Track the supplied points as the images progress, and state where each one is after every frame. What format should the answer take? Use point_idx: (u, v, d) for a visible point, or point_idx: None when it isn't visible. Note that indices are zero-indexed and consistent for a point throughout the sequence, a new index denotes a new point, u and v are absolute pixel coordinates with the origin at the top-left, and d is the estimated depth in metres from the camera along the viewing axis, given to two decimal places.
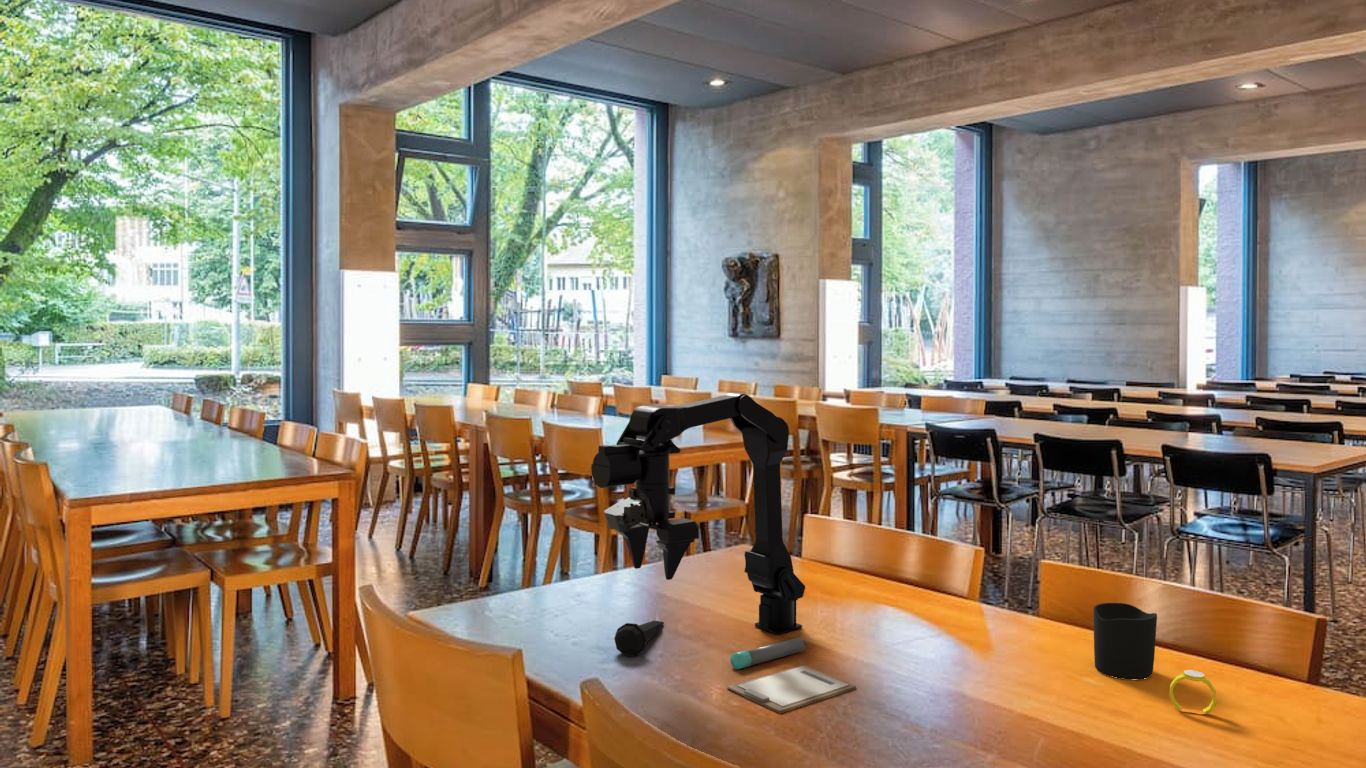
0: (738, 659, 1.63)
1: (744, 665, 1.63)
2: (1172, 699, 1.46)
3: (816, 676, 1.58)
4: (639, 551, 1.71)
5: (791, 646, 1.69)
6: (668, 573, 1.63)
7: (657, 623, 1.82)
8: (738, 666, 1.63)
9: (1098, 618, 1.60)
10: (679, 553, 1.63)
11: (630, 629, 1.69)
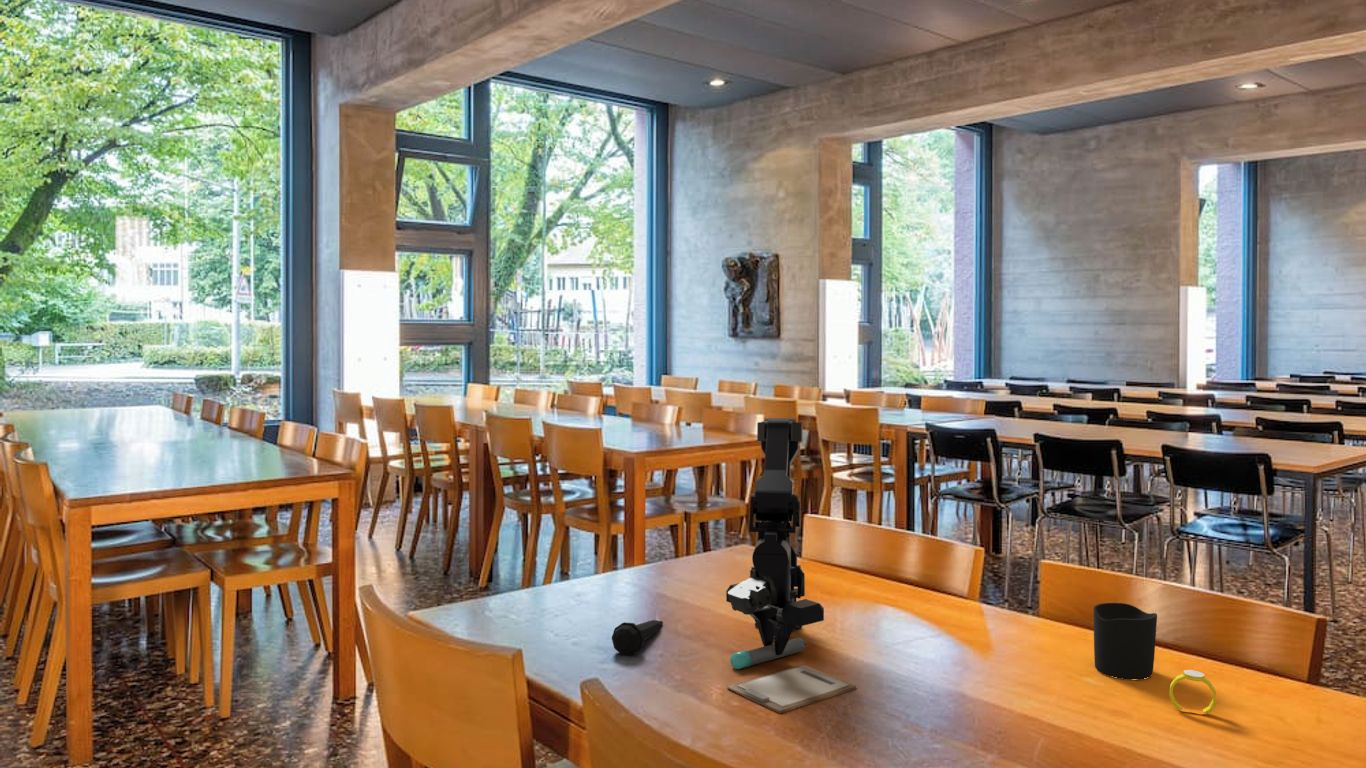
0: (738, 659, 1.63)
1: (744, 665, 1.63)
2: (1172, 699, 1.46)
3: (816, 676, 1.58)
4: (770, 633, 1.70)
5: (791, 646, 1.69)
6: (778, 649, 1.67)
7: (656, 622, 1.82)
8: (738, 666, 1.63)
9: (1098, 618, 1.60)
10: (789, 629, 1.67)
11: (627, 628, 1.70)
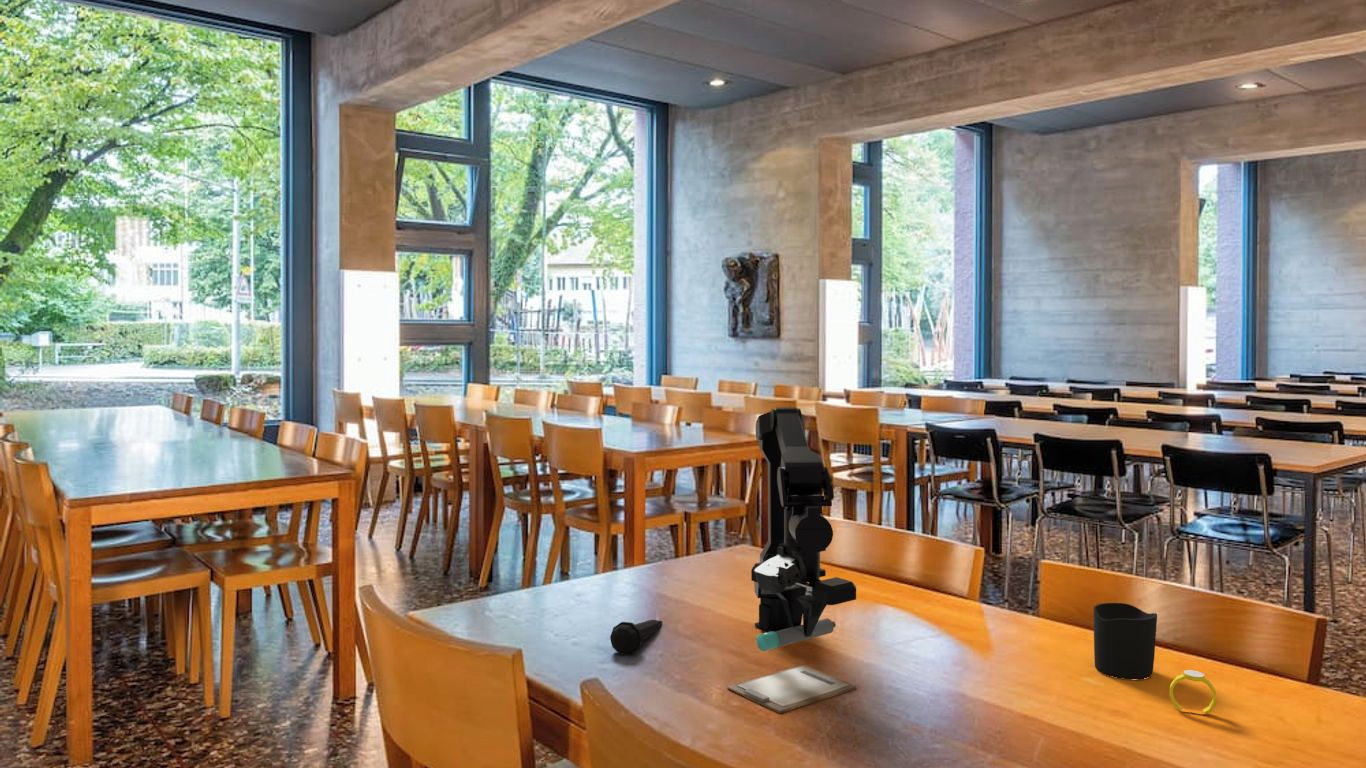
0: (765, 640, 1.54)
1: (771, 646, 1.54)
2: (1172, 699, 1.46)
3: (816, 676, 1.58)
4: (797, 614, 1.61)
5: (819, 627, 1.61)
6: (807, 630, 1.58)
7: (655, 622, 1.83)
8: (765, 647, 1.54)
9: (1098, 618, 1.60)
10: (818, 609, 1.58)
11: (625, 628, 1.70)
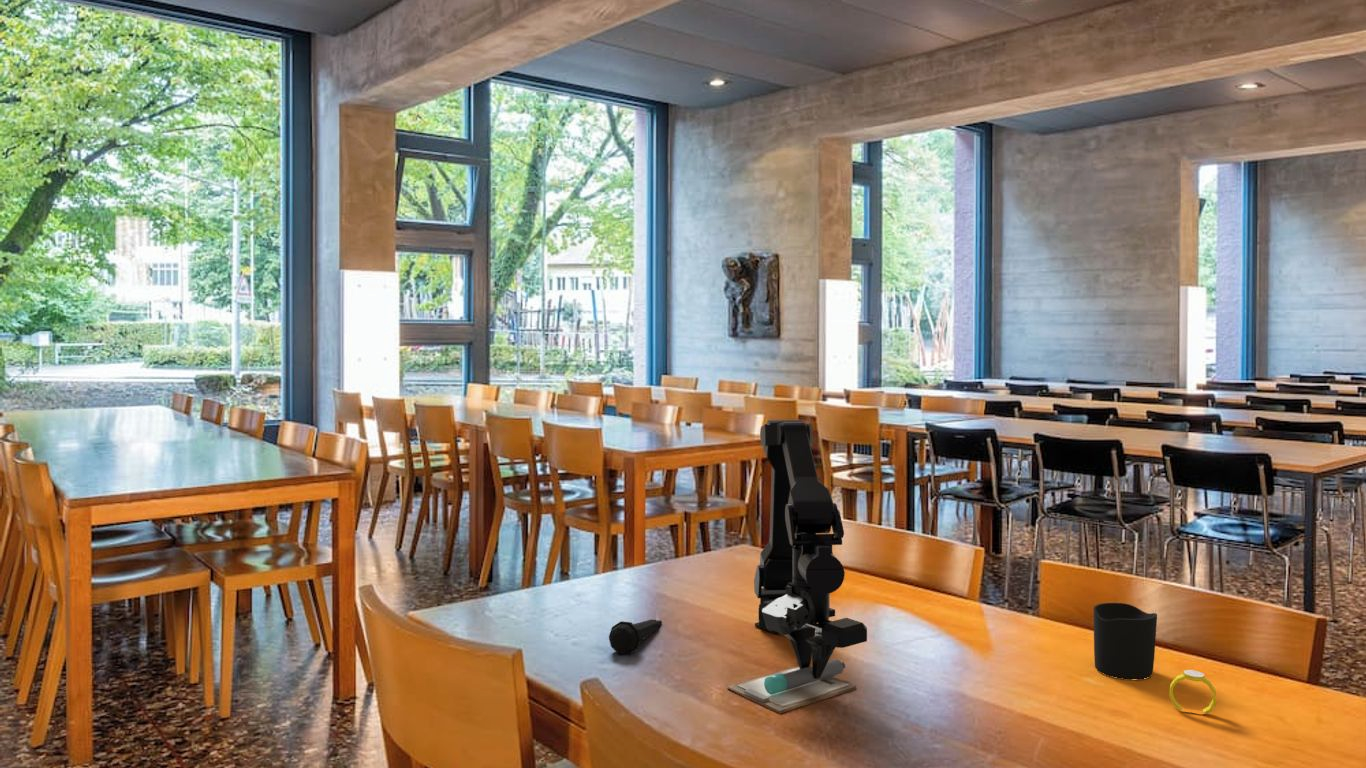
0: (773, 684, 1.49)
1: (780, 690, 1.50)
2: (1172, 699, 1.46)
3: None
4: (806, 654, 1.56)
5: (829, 669, 1.56)
6: (817, 672, 1.53)
7: (654, 622, 1.83)
8: (773, 691, 1.50)
9: (1098, 618, 1.60)
10: (828, 651, 1.53)
11: (624, 627, 1.70)
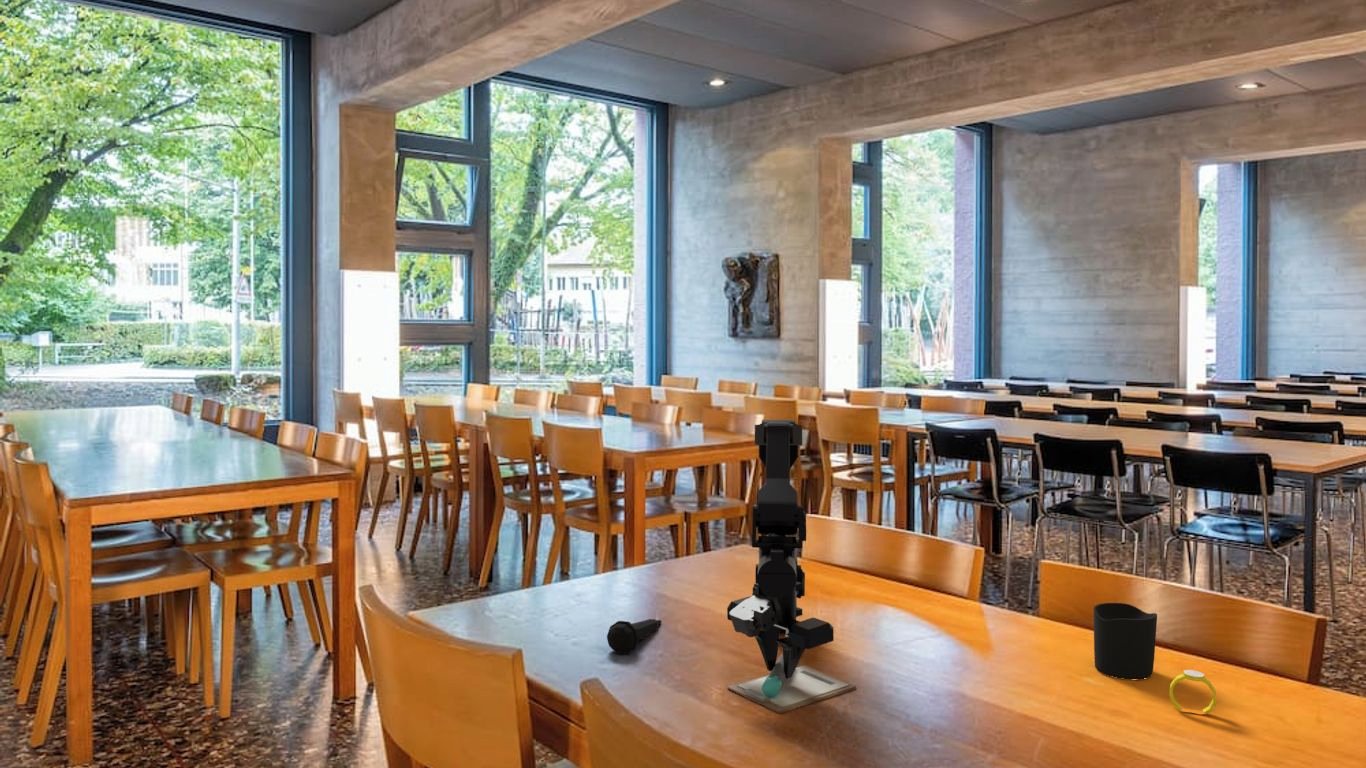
0: (773, 684, 1.49)
1: (780, 688, 1.50)
2: (1172, 699, 1.46)
3: (816, 676, 1.58)
4: (772, 652, 1.58)
5: None
6: (788, 672, 1.54)
7: (653, 621, 1.83)
8: (776, 691, 1.49)
9: (1098, 618, 1.60)
10: (799, 651, 1.54)
11: (622, 627, 1.71)
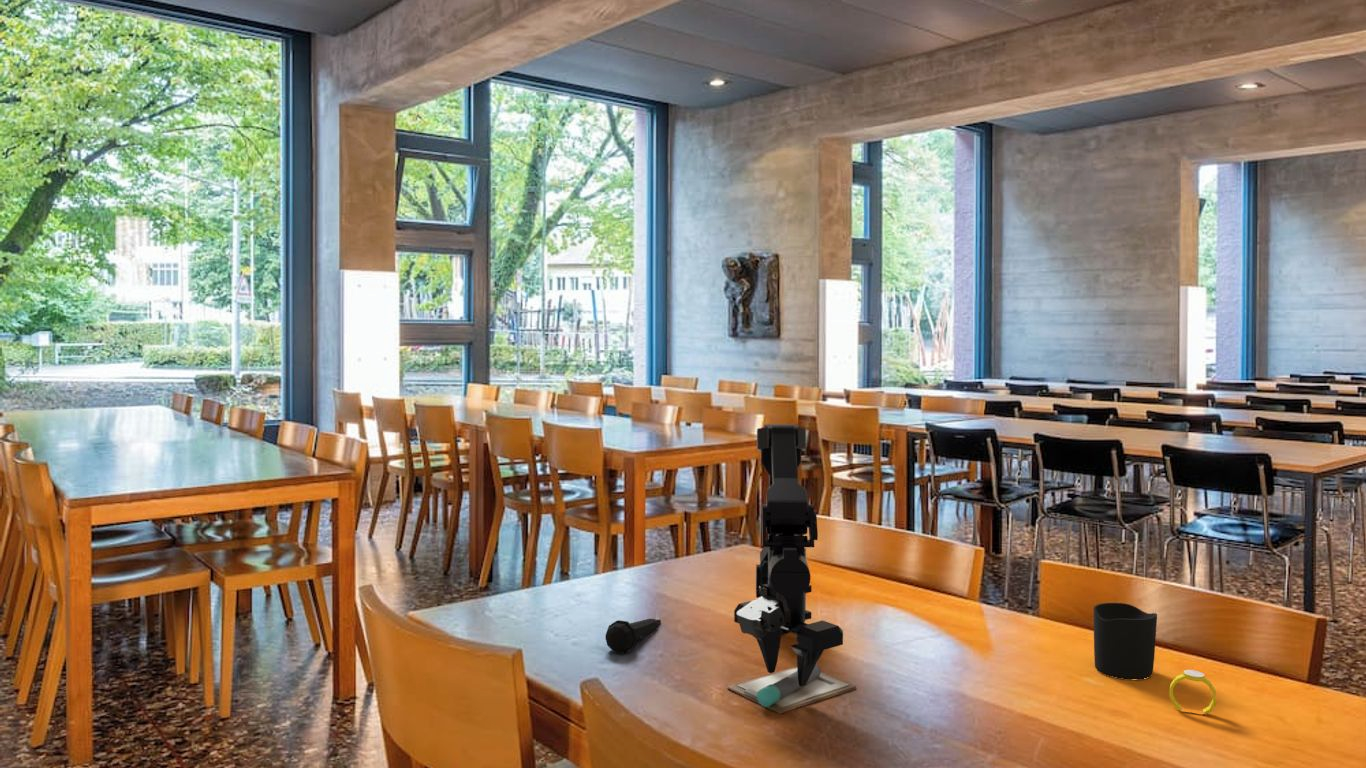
0: (769, 697, 1.46)
1: (773, 703, 1.46)
2: (1172, 699, 1.46)
3: None
4: (773, 654, 1.55)
5: (810, 676, 1.54)
6: (802, 679, 1.49)
7: (652, 621, 1.83)
8: (767, 704, 1.46)
9: (1098, 618, 1.60)
10: (813, 658, 1.49)
11: (620, 626, 1.71)
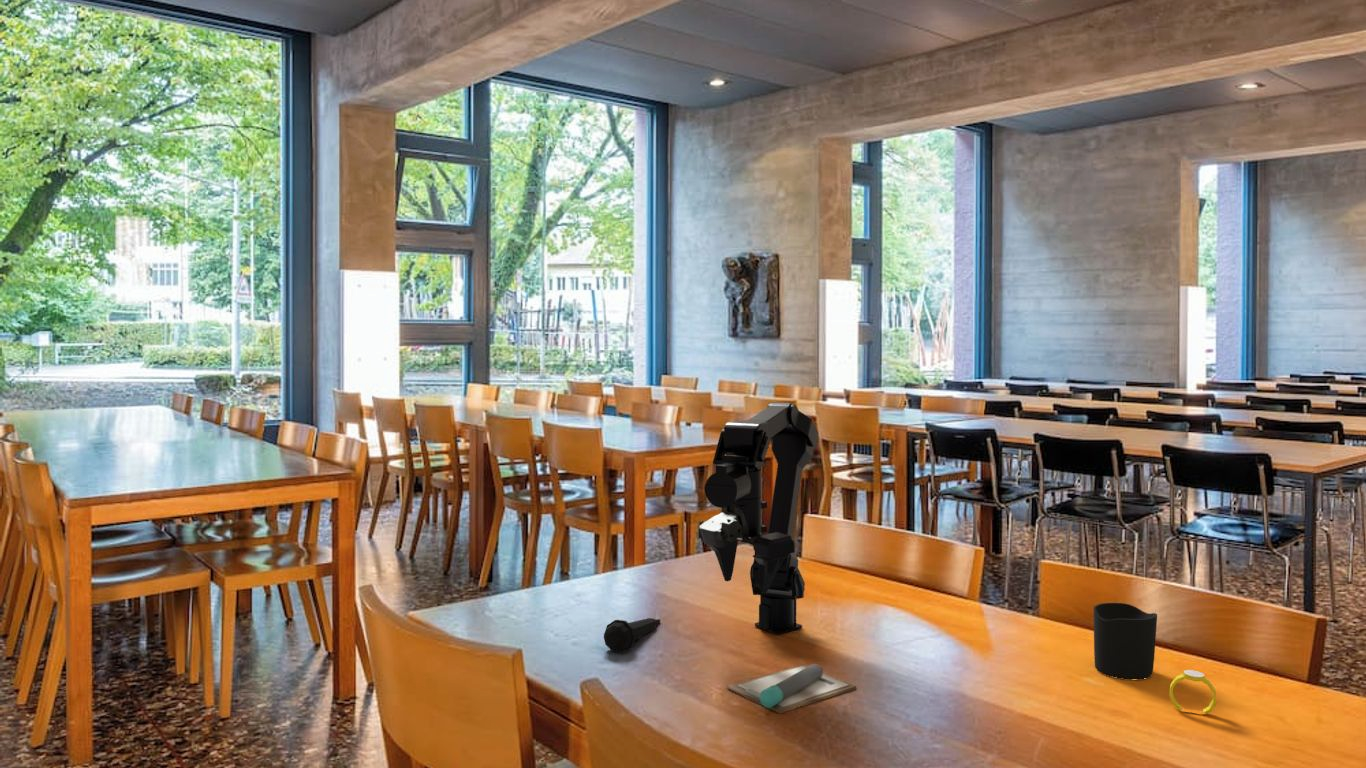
0: (772, 700, 1.45)
1: None
2: (1172, 699, 1.46)
3: None
4: (729, 564, 1.74)
5: (812, 679, 1.54)
6: (763, 586, 1.66)
7: (651, 621, 1.84)
8: (768, 705, 1.46)
9: (1098, 618, 1.60)
10: (774, 567, 1.66)
11: (618, 626, 1.71)
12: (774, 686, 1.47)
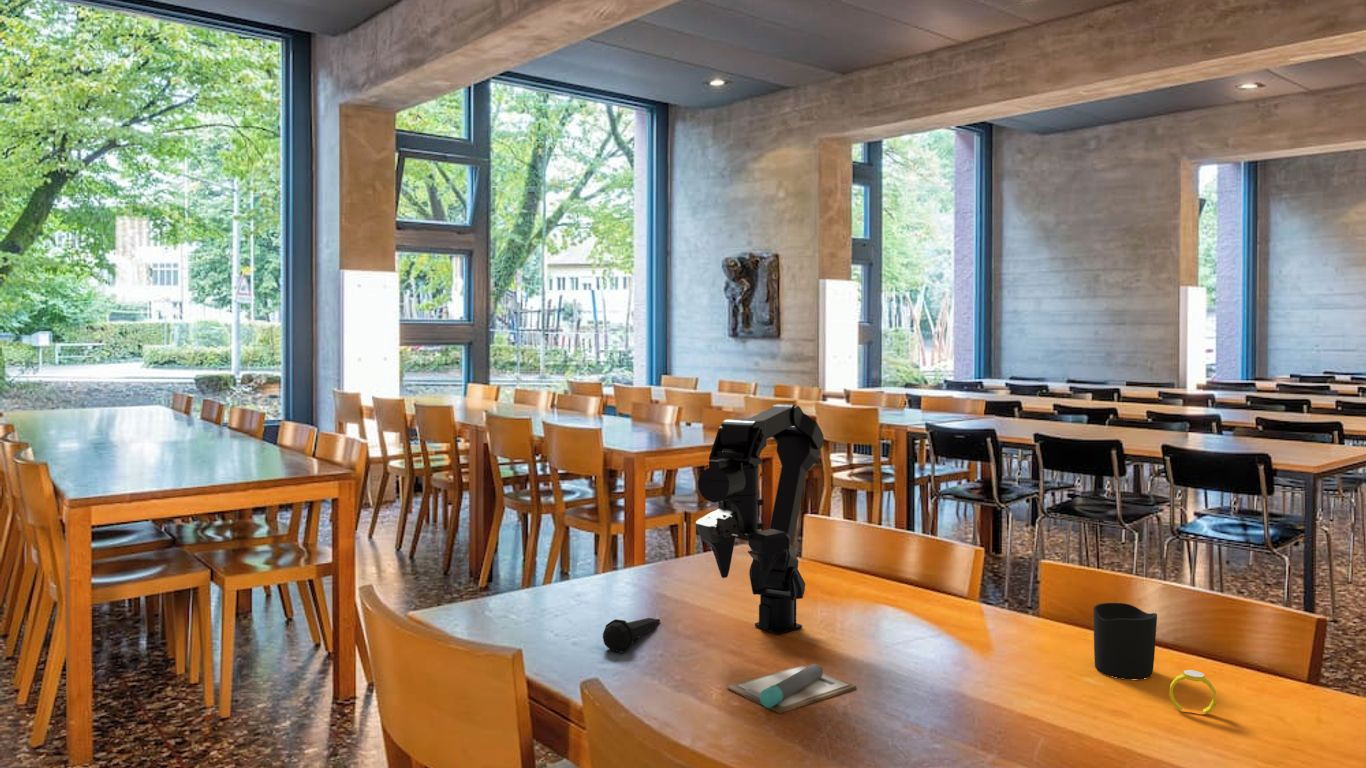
0: (772, 700, 1.45)
1: None
2: (1172, 699, 1.46)
3: None
4: (726, 561, 1.75)
5: (812, 679, 1.54)
6: (758, 583, 1.67)
7: (651, 620, 1.84)
8: (768, 705, 1.46)
9: (1098, 618, 1.60)
10: (769, 563, 1.67)
11: (617, 625, 1.71)
12: (774, 686, 1.47)
